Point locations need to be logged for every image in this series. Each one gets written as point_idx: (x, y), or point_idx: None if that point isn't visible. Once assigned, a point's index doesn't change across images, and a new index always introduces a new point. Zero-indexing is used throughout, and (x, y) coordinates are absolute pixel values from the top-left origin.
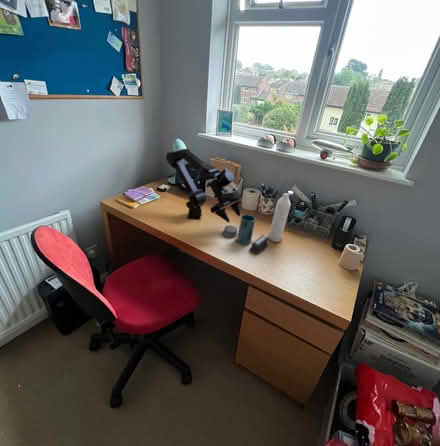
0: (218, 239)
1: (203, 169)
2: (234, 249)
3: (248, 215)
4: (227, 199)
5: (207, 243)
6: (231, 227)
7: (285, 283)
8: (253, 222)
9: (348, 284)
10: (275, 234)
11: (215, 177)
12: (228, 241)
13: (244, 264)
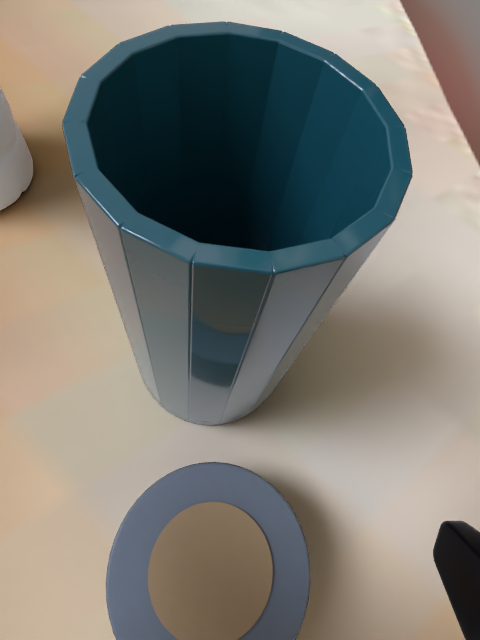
0: (413, 581)
1: None
2: (393, 344)
3: (100, 179)
4: None
5: None
6: (183, 582)
7: (380, 33)
8: (250, 68)
9: None
10: (3, 95)
11: None
12: (347, 464)
13: (455, 210)
